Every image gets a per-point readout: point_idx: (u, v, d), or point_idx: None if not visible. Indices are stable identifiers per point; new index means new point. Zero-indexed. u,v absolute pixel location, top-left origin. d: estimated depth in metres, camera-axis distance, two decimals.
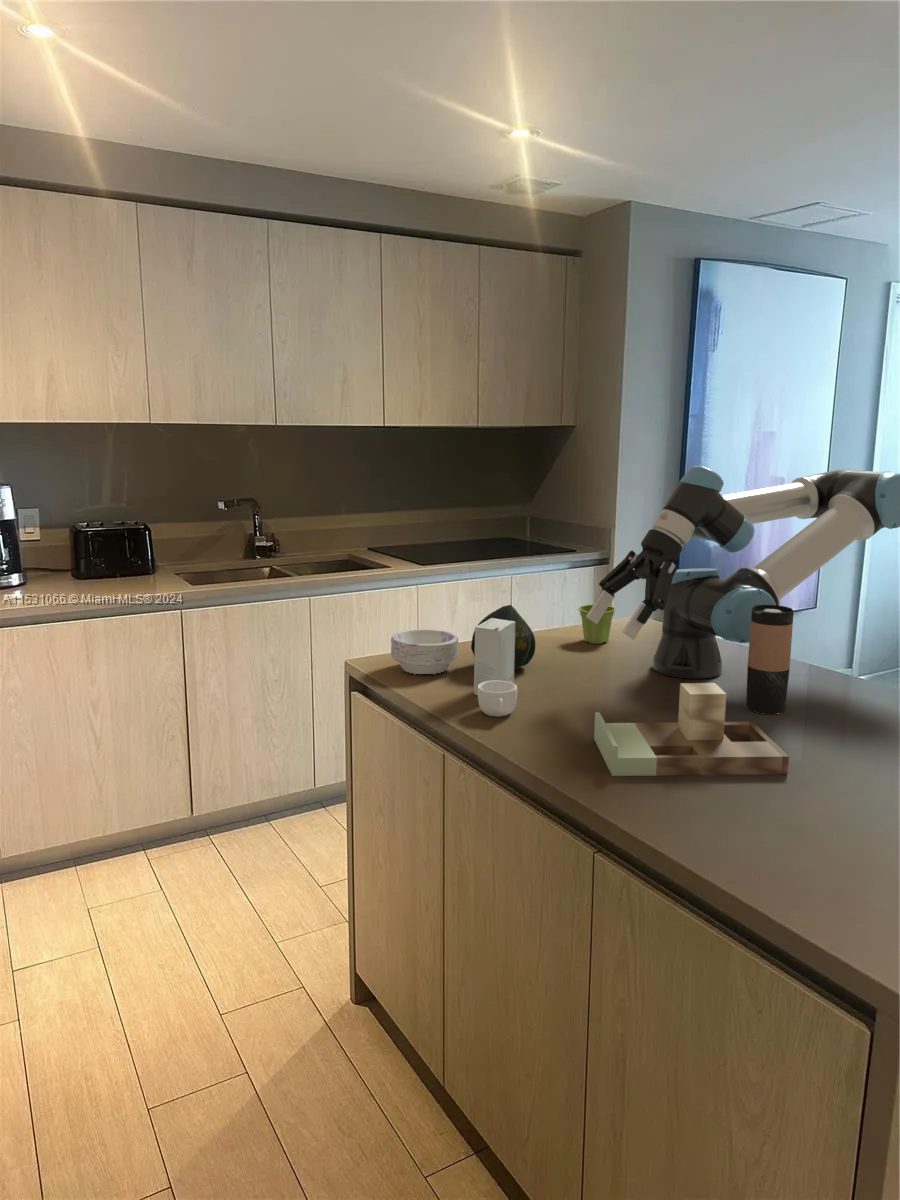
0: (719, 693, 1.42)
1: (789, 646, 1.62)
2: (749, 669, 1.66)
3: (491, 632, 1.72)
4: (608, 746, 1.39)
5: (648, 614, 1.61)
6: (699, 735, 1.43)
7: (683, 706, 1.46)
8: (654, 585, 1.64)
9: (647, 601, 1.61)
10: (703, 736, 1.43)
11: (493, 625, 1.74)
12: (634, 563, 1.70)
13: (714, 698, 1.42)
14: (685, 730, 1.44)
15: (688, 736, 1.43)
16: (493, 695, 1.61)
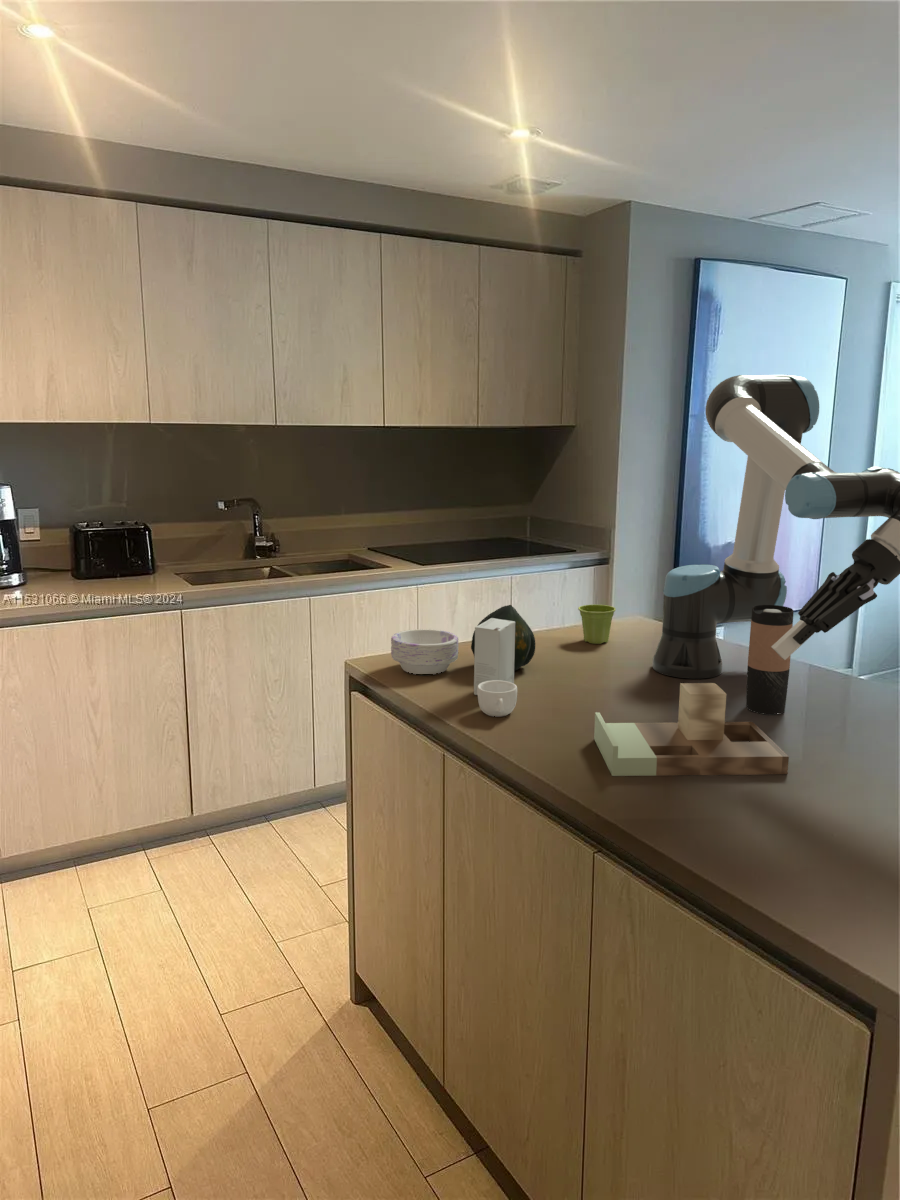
0: (719, 693, 1.42)
1: None
2: (749, 669, 1.66)
3: (491, 632, 1.72)
4: (608, 746, 1.39)
5: None
6: (699, 735, 1.43)
7: (683, 706, 1.46)
8: None
9: None
10: (703, 736, 1.43)
11: (493, 625, 1.74)
12: None
13: (714, 698, 1.42)
14: (685, 730, 1.44)
15: (688, 736, 1.43)
16: (492, 695, 1.61)
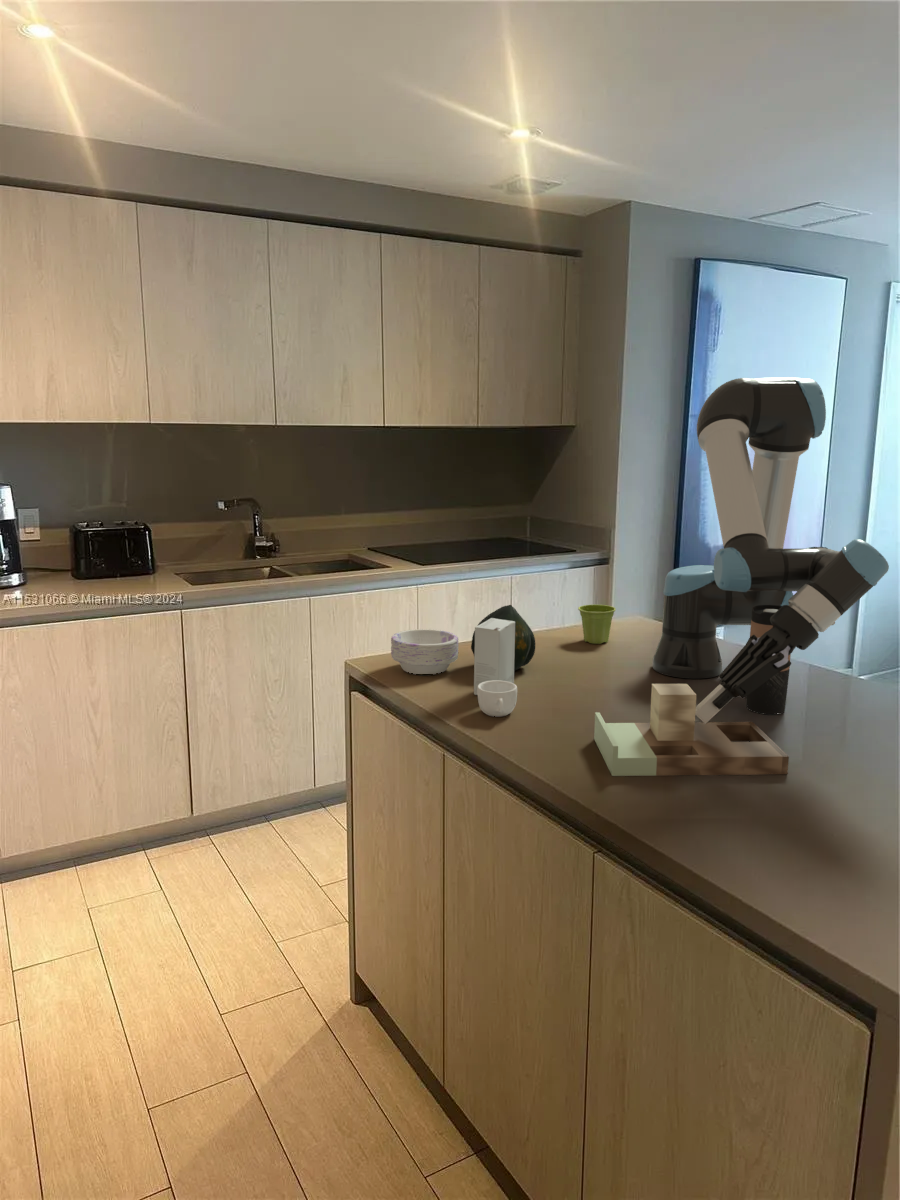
0: (689, 694, 1.42)
1: None
2: None
3: (491, 632, 1.72)
4: (608, 746, 1.39)
5: None
6: (669, 736, 1.43)
7: (654, 707, 1.46)
8: None
9: None
10: (673, 736, 1.43)
11: (493, 625, 1.74)
12: None
13: (684, 699, 1.42)
14: (655, 730, 1.44)
15: (658, 737, 1.43)
16: (492, 695, 1.61)
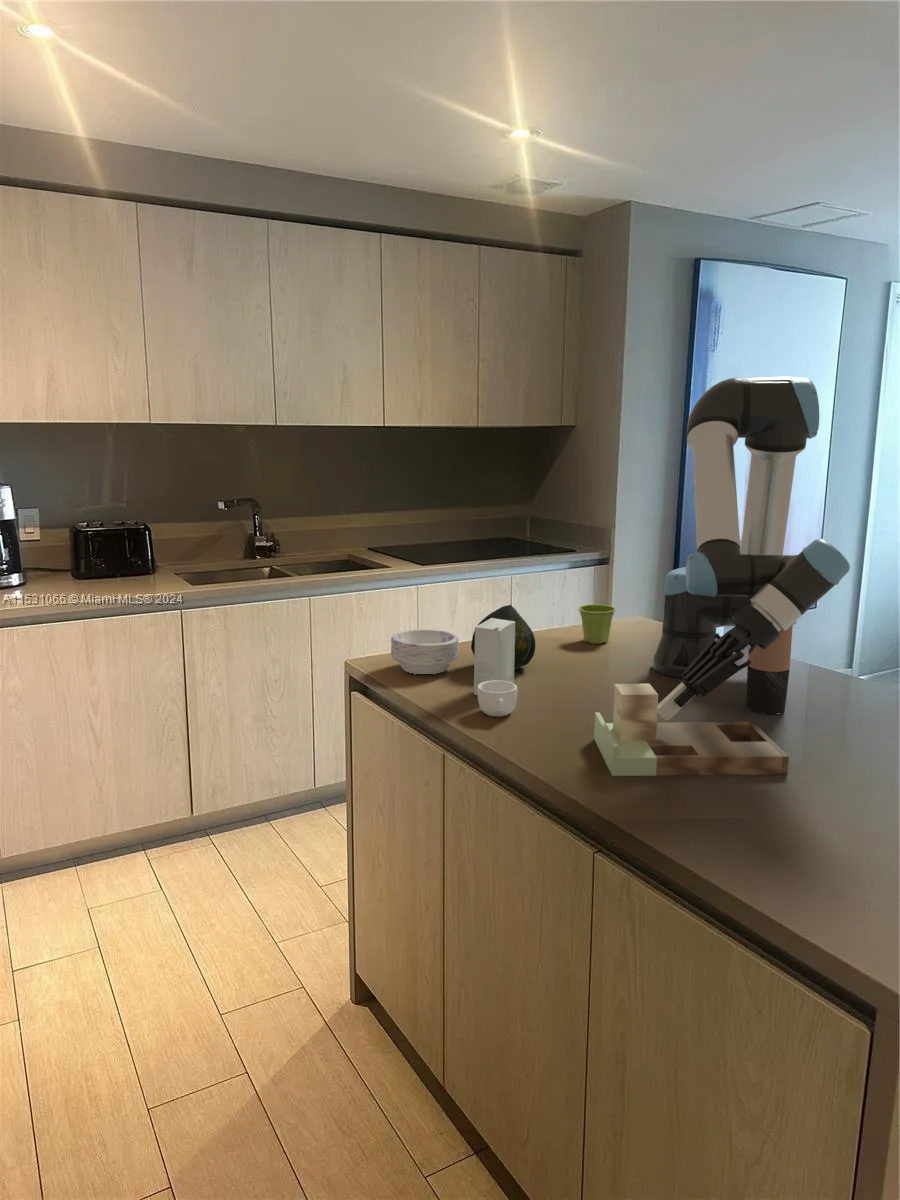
0: (651, 694, 1.42)
1: (789, 646, 1.62)
2: (749, 669, 1.66)
3: (491, 632, 1.72)
4: (608, 746, 1.39)
5: None
6: (631, 736, 1.43)
7: (616, 707, 1.46)
8: None
9: None
10: (636, 736, 1.43)
11: (493, 625, 1.74)
12: None
13: (646, 699, 1.42)
14: (618, 730, 1.44)
15: (621, 737, 1.43)
16: (492, 695, 1.61)
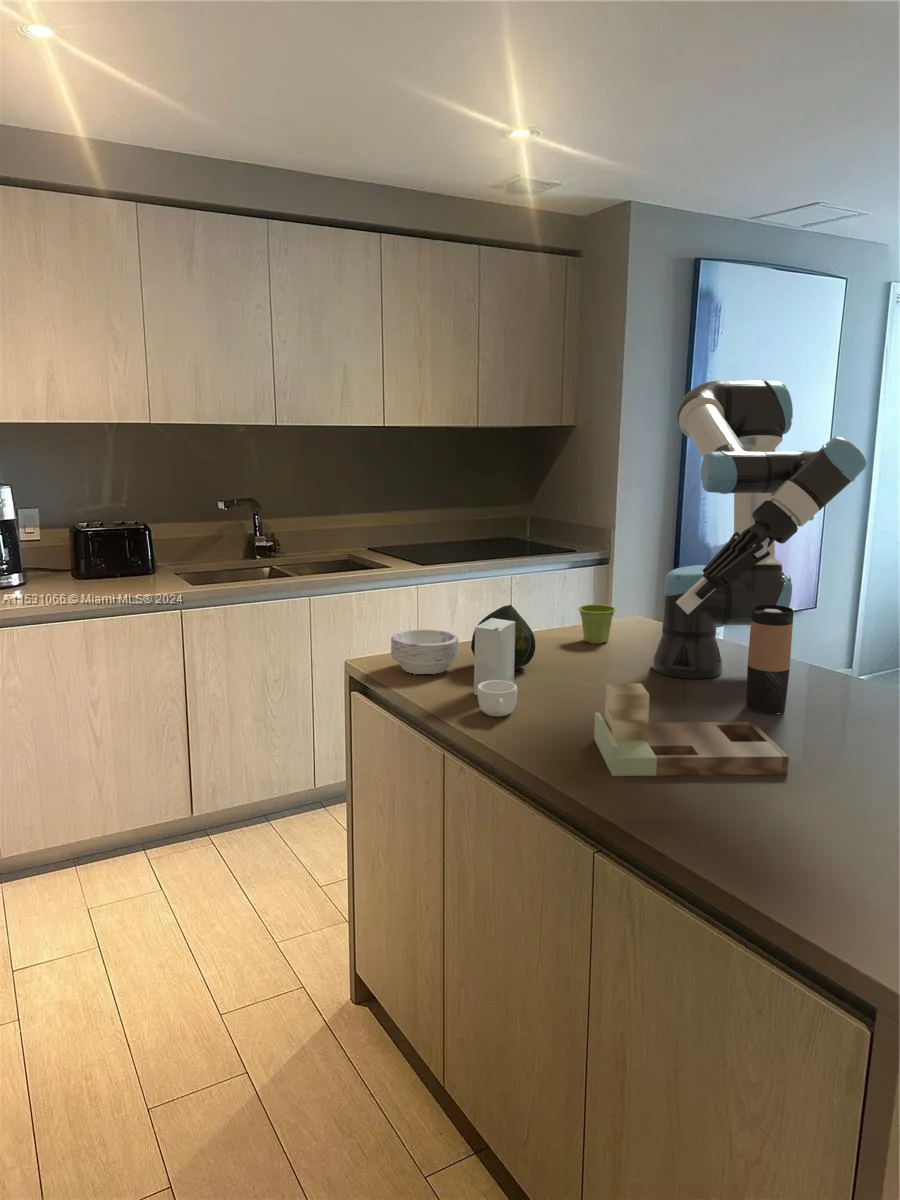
0: (642, 693, 1.42)
1: (789, 646, 1.62)
2: (749, 669, 1.66)
3: (491, 632, 1.72)
4: (608, 746, 1.39)
5: None
6: (623, 735, 1.43)
7: (608, 707, 1.46)
8: None
9: None
10: (627, 736, 1.43)
11: (493, 625, 1.74)
12: None
13: (637, 699, 1.42)
14: (610, 730, 1.44)
15: None
16: (493, 695, 1.61)
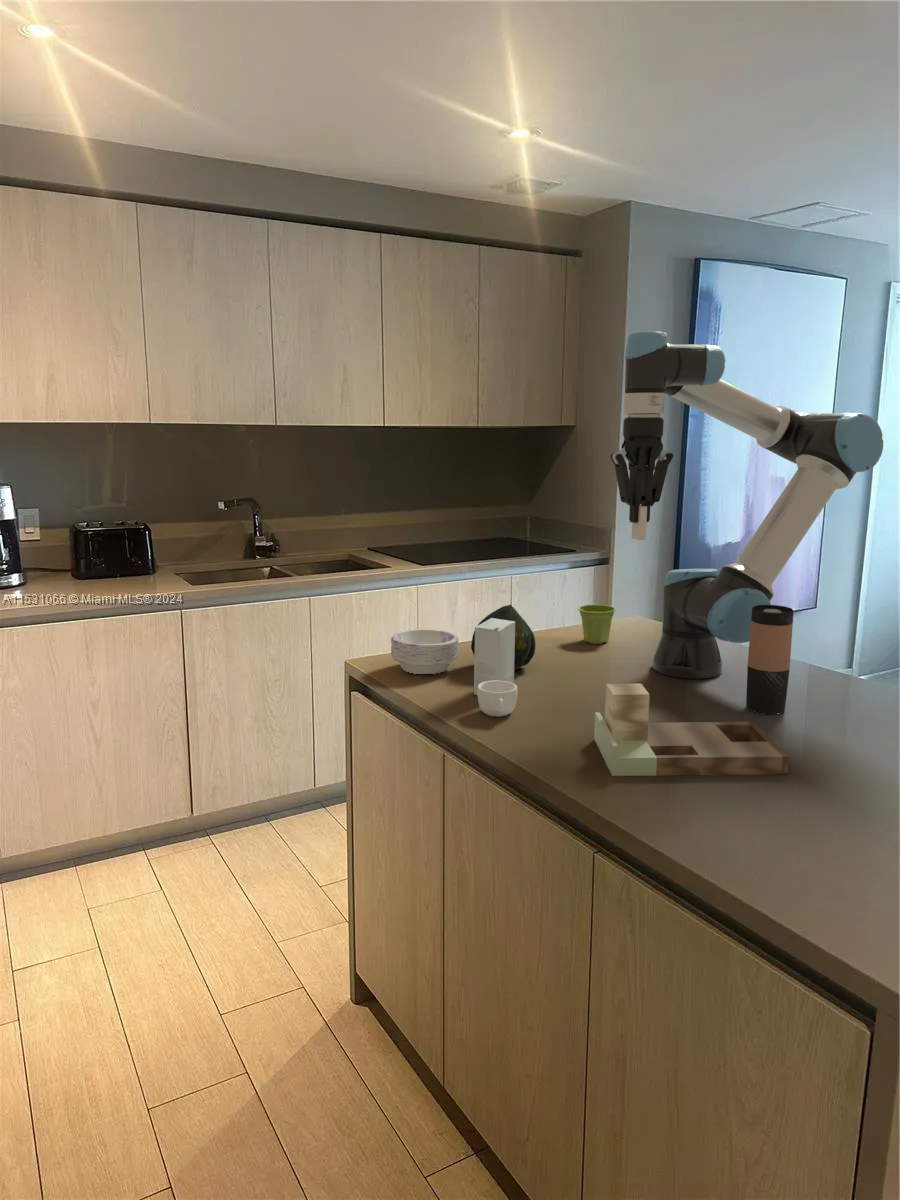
0: (642, 693, 1.42)
1: (789, 646, 1.62)
2: (749, 669, 1.66)
3: (491, 632, 1.72)
4: (608, 746, 1.39)
5: None
6: (623, 735, 1.43)
7: (608, 707, 1.46)
8: None
9: None
10: (627, 736, 1.43)
11: (493, 625, 1.74)
12: (641, 458, 1.63)
13: (637, 699, 1.42)
14: (610, 730, 1.44)
15: None
16: (493, 695, 1.61)
